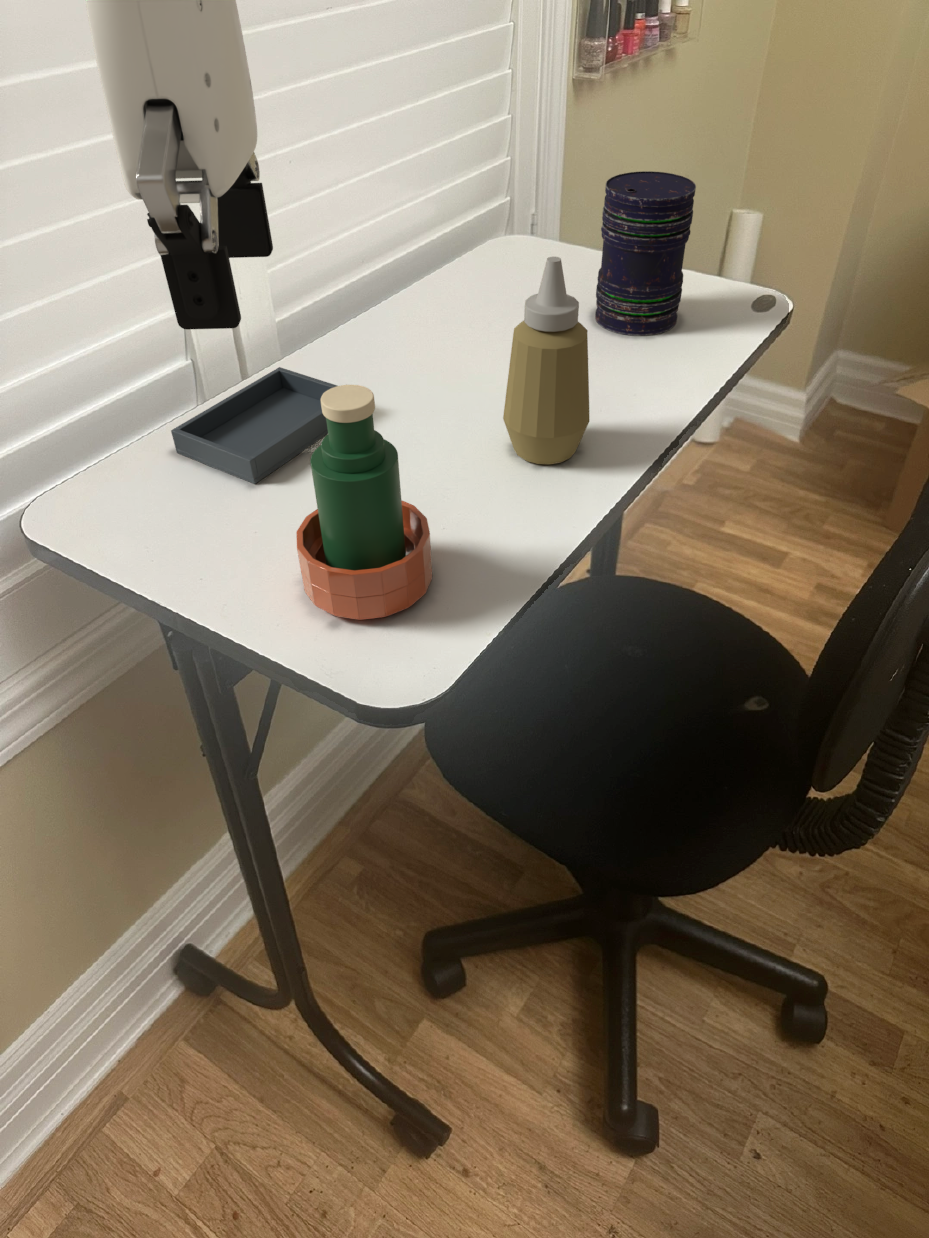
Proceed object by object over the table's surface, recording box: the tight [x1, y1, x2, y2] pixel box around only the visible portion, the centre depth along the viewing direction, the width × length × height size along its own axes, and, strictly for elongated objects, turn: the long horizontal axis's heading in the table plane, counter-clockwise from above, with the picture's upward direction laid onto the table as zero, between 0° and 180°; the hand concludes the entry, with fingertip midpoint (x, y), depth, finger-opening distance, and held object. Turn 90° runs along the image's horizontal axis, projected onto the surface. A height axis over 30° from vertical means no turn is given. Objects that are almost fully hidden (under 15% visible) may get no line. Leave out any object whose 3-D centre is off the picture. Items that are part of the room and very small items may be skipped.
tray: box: [170, 366, 338, 485], centre depth 89 cm, size 15×10×2 cm
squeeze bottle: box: [502, 256, 590, 465], centre depth 80 cm, size 8×8×18 cm
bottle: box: [309, 384, 406, 570], centre depth 66 cm, size 6×6×16 cm
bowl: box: [296, 500, 433, 621], centre depth 70 cm, size 10×10×5 cm
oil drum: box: [594, 170, 697, 337], centre depth 103 cm, size 10×10×15 cm
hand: (230, 288), depth 51 cm, fingers open, 9 cm apart
